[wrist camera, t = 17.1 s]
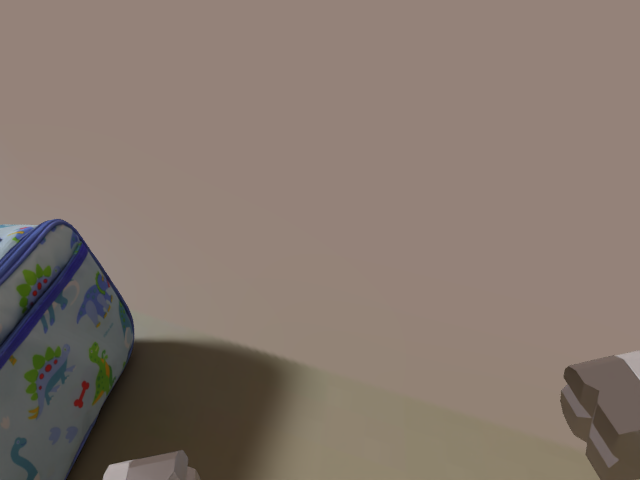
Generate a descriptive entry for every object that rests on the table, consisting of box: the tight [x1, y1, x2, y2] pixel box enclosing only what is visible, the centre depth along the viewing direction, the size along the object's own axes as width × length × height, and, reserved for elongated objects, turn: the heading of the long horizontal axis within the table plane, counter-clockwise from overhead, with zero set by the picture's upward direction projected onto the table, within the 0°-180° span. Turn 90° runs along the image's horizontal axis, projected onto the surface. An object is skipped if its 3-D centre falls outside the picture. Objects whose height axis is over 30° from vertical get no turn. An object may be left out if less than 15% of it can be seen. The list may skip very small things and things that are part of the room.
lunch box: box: [0, 219, 134, 480], centre depth 46 cm, size 26×11×21 cm, turn 169°
